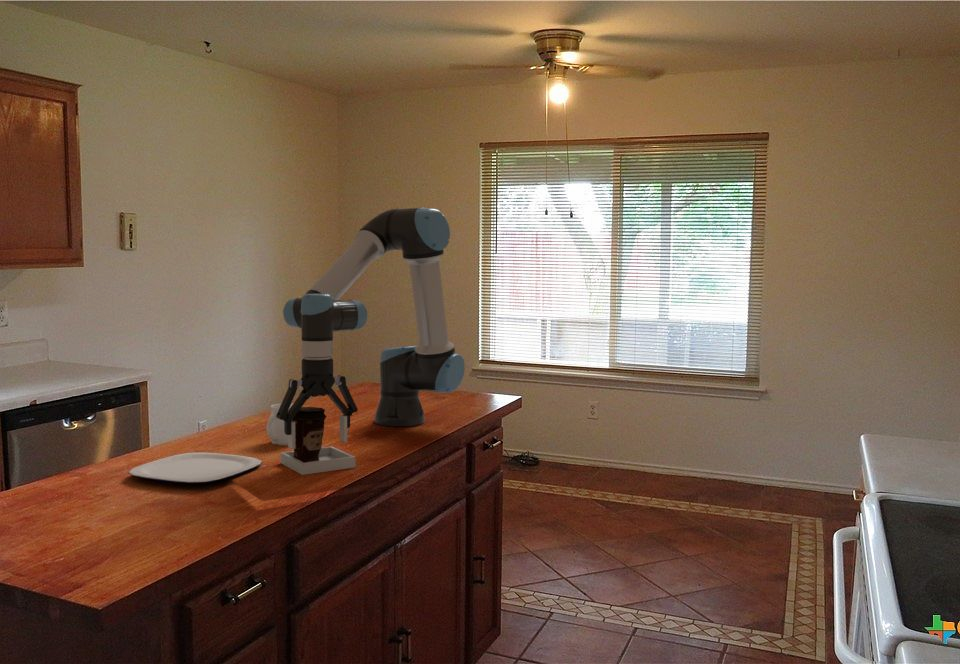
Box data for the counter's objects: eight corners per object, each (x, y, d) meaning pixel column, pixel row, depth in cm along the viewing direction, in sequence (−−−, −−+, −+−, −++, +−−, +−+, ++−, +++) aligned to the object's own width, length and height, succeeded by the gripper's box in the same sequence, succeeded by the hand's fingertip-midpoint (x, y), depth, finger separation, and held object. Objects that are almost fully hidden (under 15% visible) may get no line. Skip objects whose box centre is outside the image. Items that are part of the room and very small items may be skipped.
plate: (206, 491, 178) (206, 483, 178) (114, 479, 187) (114, 472, 186) (274, 465, 202) (273, 458, 201) (189, 456, 210) (189, 449, 210)
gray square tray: (331, 456, 210) (331, 446, 210) (355, 467, 199) (355, 456, 199) (280, 463, 202) (280, 452, 202) (302, 474, 191) (302, 463, 191)
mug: (279, 450, 216) (279, 411, 216) (255, 446, 220) (254, 408, 219) (308, 441, 227) (308, 404, 226) (284, 438, 231) (284, 402, 230)
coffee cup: (331, 461, 202) (333, 408, 201) (313, 467, 194) (316, 412, 193) (300, 456, 204) (302, 404, 204) (281, 462, 197) (284, 408, 196)
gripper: (357, 353, 209) (357, 436, 210) (261, 359, 195) (263, 447, 196) (370, 356, 202) (371, 441, 204) (273, 362, 188) (274, 453, 190)
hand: (318, 444), depth 200 cm, fingers open, 13 cm apart
